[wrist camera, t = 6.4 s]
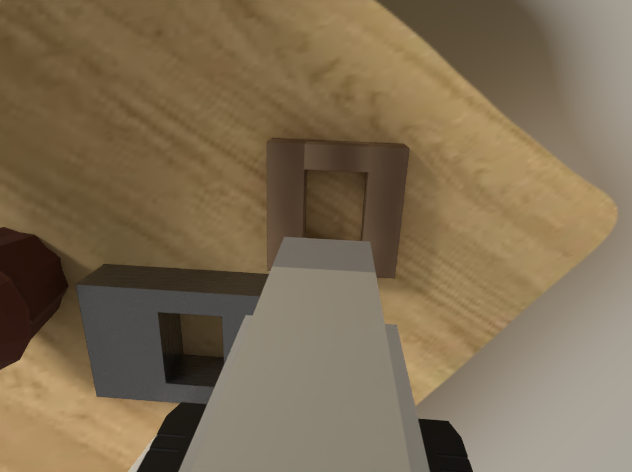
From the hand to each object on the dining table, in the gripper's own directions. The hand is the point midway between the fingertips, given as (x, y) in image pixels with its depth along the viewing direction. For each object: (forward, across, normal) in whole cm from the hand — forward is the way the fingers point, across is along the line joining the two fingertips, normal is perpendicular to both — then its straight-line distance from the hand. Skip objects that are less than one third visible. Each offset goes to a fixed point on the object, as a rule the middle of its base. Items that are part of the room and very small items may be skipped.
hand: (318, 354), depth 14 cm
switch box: (+20, -11, -12) cm, 25 cm away
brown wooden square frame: (+20, 0, 0) cm, 20 cm away
